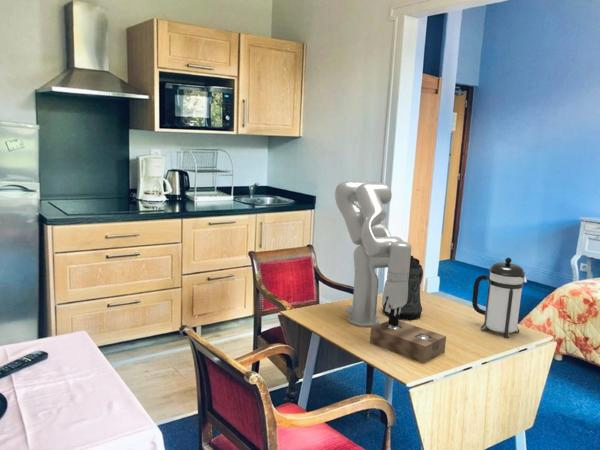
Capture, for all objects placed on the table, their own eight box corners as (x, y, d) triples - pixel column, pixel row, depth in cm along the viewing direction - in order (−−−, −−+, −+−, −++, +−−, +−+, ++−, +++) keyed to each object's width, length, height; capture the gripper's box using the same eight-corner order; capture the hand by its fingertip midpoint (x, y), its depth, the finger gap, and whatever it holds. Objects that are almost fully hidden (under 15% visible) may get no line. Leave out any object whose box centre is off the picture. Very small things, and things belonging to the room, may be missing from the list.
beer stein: (379, 317, 212) (384, 258, 208) (385, 303, 230) (390, 249, 226) (420, 323, 208) (425, 263, 203) (423, 308, 226) (428, 253, 222)
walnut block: (369, 343, 184) (371, 327, 183) (391, 333, 194) (393, 318, 193) (423, 363, 169) (425, 346, 168) (444, 352, 179) (446, 336, 178)
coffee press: (512, 325, 210) (521, 254, 205) (525, 340, 194) (535, 263, 189) (469, 321, 212) (477, 251, 207) (478, 336, 196) (487, 260, 191)
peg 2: (413, 351, 178) (414, 336, 177) (419, 348, 181) (421, 333, 180) (423, 355, 175) (425, 339, 174) (429, 352, 178) (431, 337, 177)
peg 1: (384, 340, 186) (386, 326, 185) (391, 338, 189) (392, 323, 188) (394, 344, 183) (395, 329, 182) (400, 341, 186) (401, 327, 185)
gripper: (400, 270, 190) (396, 317, 193) (376, 277, 179) (372, 326, 183) (418, 275, 185) (413, 323, 188) (394, 282, 174) (390, 333, 178)
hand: (393, 324), depth 185 cm, fingers closed
